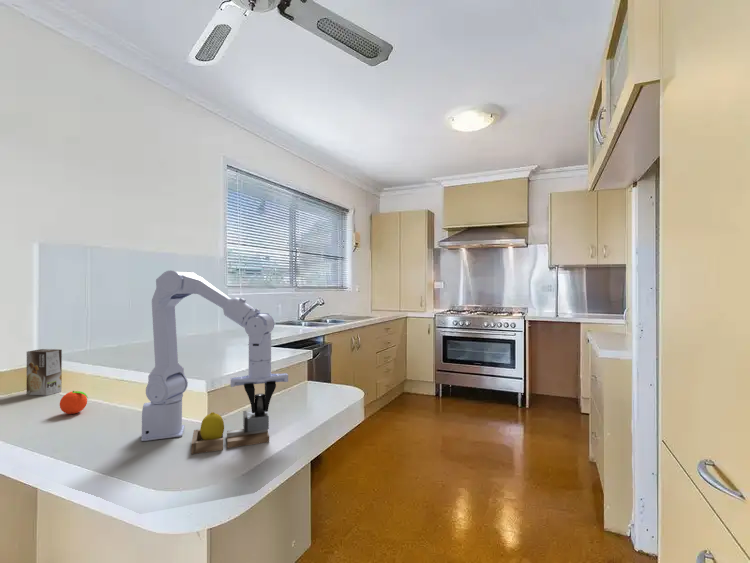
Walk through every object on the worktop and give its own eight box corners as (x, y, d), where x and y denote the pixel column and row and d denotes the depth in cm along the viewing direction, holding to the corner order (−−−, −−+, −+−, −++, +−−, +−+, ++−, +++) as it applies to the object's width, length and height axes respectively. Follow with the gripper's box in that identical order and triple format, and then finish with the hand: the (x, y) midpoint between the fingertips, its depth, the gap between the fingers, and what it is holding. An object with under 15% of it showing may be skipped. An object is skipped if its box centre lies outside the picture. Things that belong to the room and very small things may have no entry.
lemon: (215, 449, 96) (215, 416, 96) (195, 447, 97) (195, 415, 97) (228, 440, 101) (228, 409, 101) (209, 439, 102) (209, 408, 102)
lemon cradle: (191, 454, 93) (191, 443, 93) (193, 439, 102) (193, 430, 102) (223, 449, 95) (223, 439, 95) (222, 436, 104) (222, 426, 104)
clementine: (95, 409, 127) (96, 387, 127) (80, 417, 120) (80, 393, 120) (70, 410, 126) (70, 388, 126) (53, 417, 119) (53, 393, 119)
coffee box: (62, 391, 149) (63, 349, 149) (46, 396, 143) (46, 351, 143) (42, 390, 151) (42, 348, 151) (24, 394, 144) (25, 351, 144)
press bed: (227, 447, 96) (227, 437, 96) (226, 436, 104) (226, 427, 104) (269, 442, 100) (269, 432, 100) (265, 431, 107) (265, 422, 108)
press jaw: (244, 432, 99) (244, 399, 99) (243, 425, 104) (243, 393, 104) (268, 429, 101) (268, 396, 101) (266, 422, 106) (266, 391, 107)
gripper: (231, 364, 97) (230, 419, 97) (290, 360, 102) (290, 412, 102) (230, 359, 104) (230, 411, 103) (285, 355, 109) (285, 404, 109)
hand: (259, 411), depth 103 cm, fingers closed on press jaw, 3 cm apart
